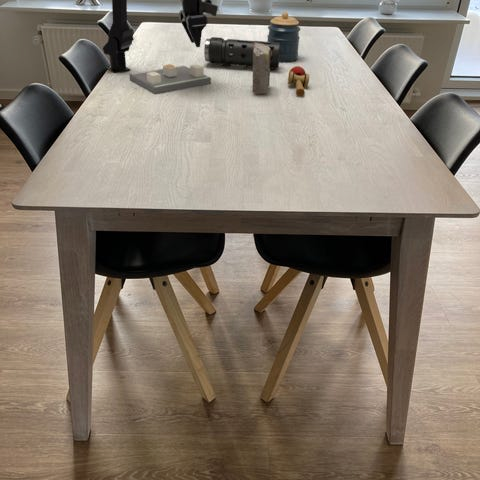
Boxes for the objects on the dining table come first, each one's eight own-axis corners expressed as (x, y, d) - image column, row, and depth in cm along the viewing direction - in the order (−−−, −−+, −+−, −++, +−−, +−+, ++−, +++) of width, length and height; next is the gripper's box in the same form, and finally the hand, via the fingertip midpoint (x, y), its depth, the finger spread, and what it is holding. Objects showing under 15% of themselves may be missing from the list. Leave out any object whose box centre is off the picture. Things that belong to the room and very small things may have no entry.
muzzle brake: (277, 73, 195) (279, 45, 189) (203, 68, 198) (203, 39, 192) (279, 66, 203) (281, 39, 197) (208, 61, 206) (208, 34, 200)
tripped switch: (163, 74, 181) (162, 64, 179) (170, 72, 183) (170, 63, 181) (169, 77, 179) (168, 67, 177) (176, 75, 180) (176, 66, 178)
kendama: (313, 101, 174) (308, 77, 188) (312, 83, 170) (307, 61, 183) (290, 104, 175) (286, 80, 188) (288, 86, 171) (285, 64, 184)
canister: (298, 63, 208) (303, 16, 198) (266, 62, 207) (269, 14, 198) (296, 54, 218) (300, 9, 209) (265, 53, 218) (268, 8, 208)
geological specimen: (267, 96, 172) (270, 49, 164) (249, 94, 173) (251, 48, 165) (270, 86, 181) (272, 41, 173) (252, 85, 182) (254, 40, 173)
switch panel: (129, 79, 182) (128, 65, 179) (183, 70, 194) (183, 56, 191) (155, 94, 170) (154, 78, 168) (210, 83, 182) (210, 69, 179)
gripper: (220, -7, 160) (225, 46, 168) (208, -12, 175) (213, 37, 183) (185, -3, 158) (191, 50, 166) (175, -8, 173) (182, 41, 181)
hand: (195, 44), depth 174 cm, fingers open, 9 cm apart
